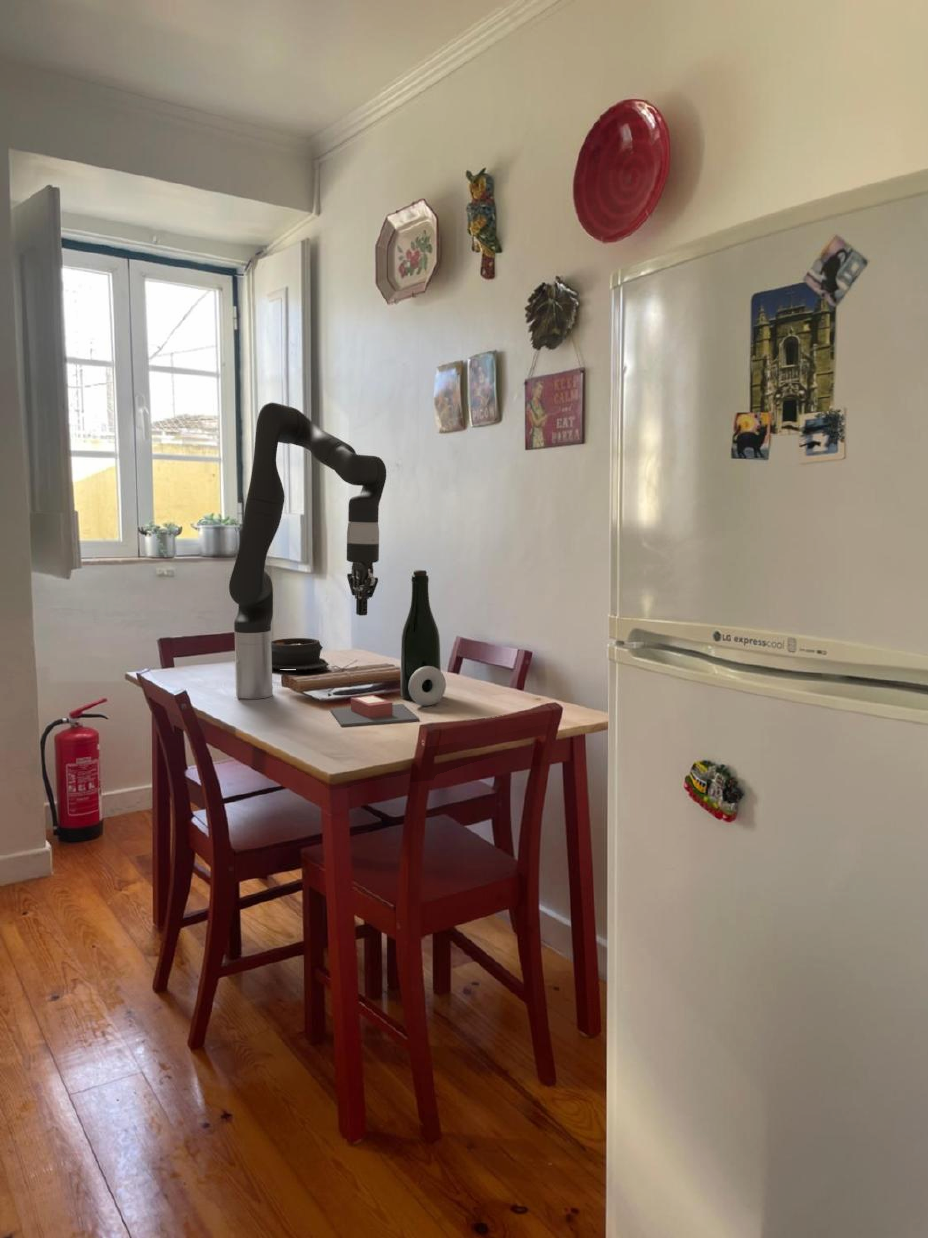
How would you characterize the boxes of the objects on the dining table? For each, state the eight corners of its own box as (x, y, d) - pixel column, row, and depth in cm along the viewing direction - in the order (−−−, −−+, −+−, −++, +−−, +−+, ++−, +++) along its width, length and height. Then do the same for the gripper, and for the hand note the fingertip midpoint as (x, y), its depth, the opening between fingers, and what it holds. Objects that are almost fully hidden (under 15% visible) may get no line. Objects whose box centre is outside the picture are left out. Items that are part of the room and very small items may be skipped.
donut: (442, 702, 226) (442, 663, 225) (448, 705, 223) (448, 665, 222) (406, 706, 222) (405, 666, 221) (411, 709, 219) (411, 668, 217)
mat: (341, 726, 201) (341, 724, 201) (330, 711, 216) (330, 709, 216) (419, 721, 207) (419, 718, 206) (402, 706, 222) (402, 704, 222)
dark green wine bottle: (397, 694, 236) (395, 569, 232) (435, 692, 239) (434, 568, 235) (405, 702, 226) (404, 572, 222) (445, 700, 229) (445, 571, 225)
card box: (369, 705, 206) (350, 697, 214) (369, 718, 206) (350, 710, 215) (392, 702, 209) (373, 694, 218) (392, 715, 210) (373, 707, 218)
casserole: (247, 666, 278) (247, 640, 277) (300, 659, 290) (299, 634, 289) (290, 678, 259) (289, 649, 258) (343, 670, 272) (343, 642, 271)
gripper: (389, 543, 206) (388, 618, 208) (365, 540, 217) (364, 611, 219) (359, 543, 202) (358, 619, 204) (337, 540, 213) (335, 612, 216)
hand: (361, 614), depth 212 cm, fingers closed
